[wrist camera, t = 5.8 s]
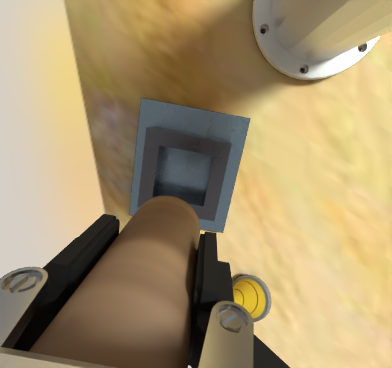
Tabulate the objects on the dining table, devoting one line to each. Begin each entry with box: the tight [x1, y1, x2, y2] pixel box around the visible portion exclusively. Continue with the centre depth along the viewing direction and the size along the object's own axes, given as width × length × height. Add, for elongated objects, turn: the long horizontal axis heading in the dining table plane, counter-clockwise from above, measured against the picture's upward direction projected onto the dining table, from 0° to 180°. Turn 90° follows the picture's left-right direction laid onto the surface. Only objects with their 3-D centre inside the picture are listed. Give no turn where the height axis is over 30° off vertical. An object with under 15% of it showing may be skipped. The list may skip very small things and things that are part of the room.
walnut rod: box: [28, 196, 200, 368], centre depth 9 cm, size 4×4×10 cm
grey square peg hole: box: [129, 98, 250, 233], centre depth 26 cm, size 14×12×4 cm
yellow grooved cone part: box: [232, 275, 271, 322], centre depth 28 cm, size 5×5×10 cm
